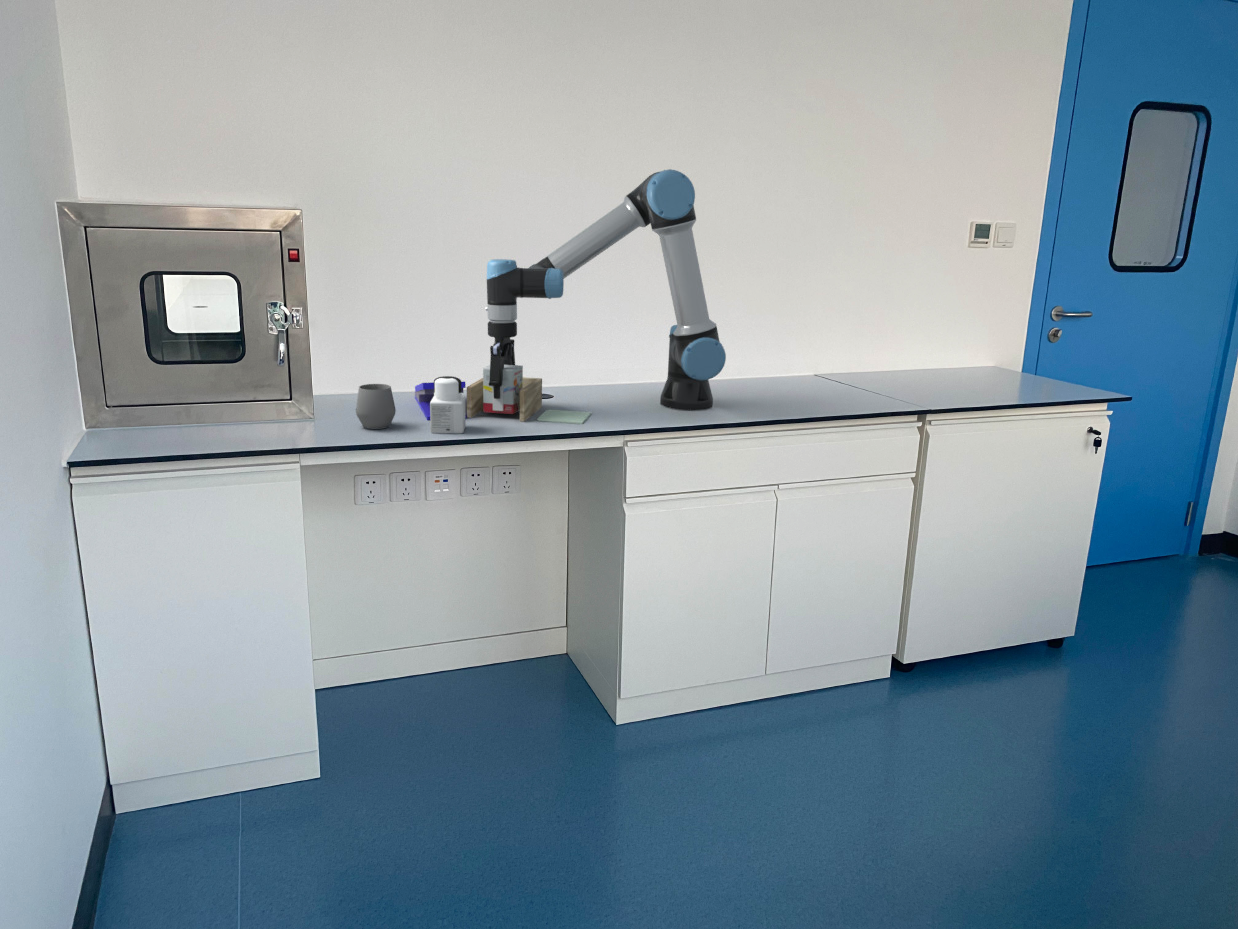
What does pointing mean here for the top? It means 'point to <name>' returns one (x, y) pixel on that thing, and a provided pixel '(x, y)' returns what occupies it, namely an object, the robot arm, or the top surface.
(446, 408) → the container
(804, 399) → the top surface
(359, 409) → the cup
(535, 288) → the robot arm
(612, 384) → the top surface
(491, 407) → the ink box
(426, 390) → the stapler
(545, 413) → the mat
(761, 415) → the top surface
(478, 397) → the u-shaped enclosure
